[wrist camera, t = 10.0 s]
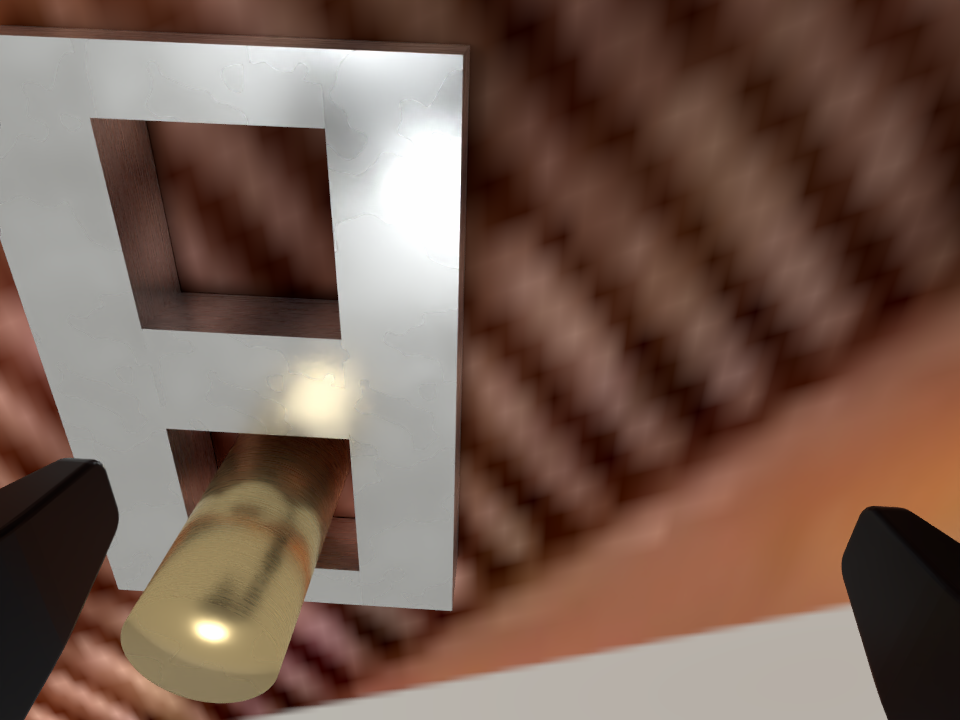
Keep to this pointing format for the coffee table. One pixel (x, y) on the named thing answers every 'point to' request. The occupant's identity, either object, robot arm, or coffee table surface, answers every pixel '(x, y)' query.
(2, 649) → the robot arm
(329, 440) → the pale yellow rod
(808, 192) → the coffee table surface
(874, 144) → the coffee table surface
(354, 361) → the plate
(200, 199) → the coffee table surface
